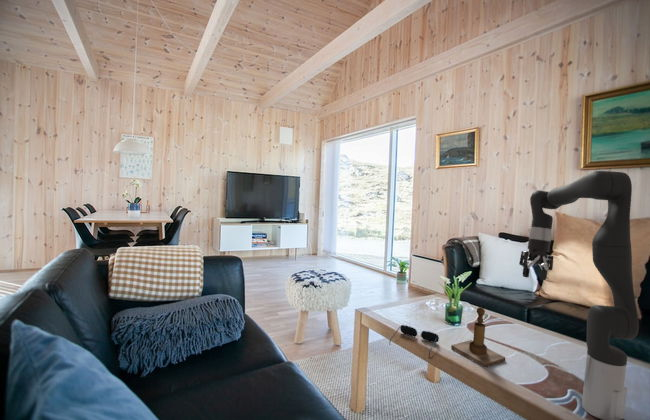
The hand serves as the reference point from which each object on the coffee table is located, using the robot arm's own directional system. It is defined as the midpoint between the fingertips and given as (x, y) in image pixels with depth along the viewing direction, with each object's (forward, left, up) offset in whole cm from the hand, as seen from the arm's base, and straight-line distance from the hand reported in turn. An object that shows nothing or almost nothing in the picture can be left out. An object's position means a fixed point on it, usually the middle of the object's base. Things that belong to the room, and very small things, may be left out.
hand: (534, 278), depth 136 cm
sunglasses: (+25, +39, -33) cm, 57 cm away
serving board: (+8, +21, -32) cm, 39 cm away
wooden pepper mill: (+8, +21, -31) cm, 38 cm away
